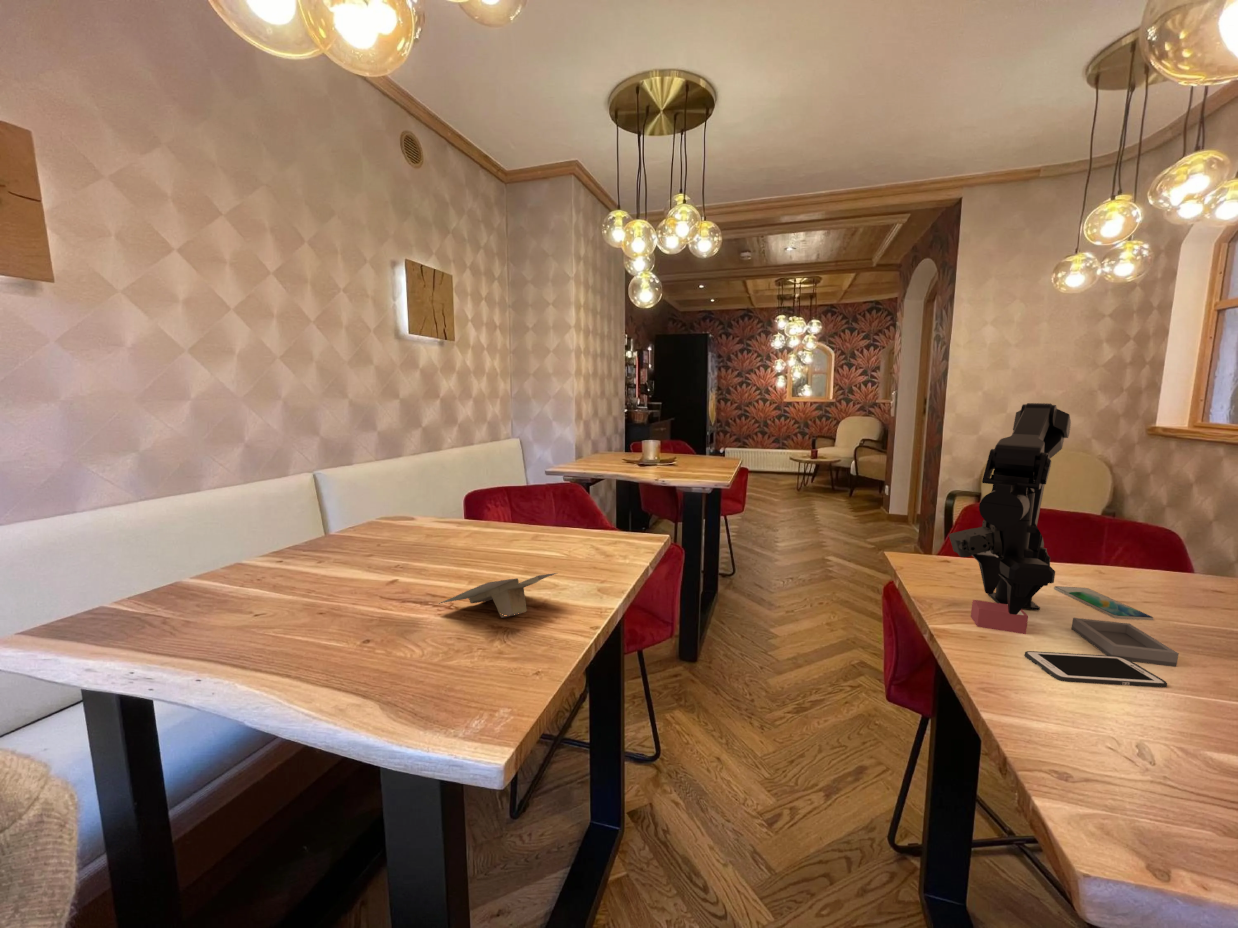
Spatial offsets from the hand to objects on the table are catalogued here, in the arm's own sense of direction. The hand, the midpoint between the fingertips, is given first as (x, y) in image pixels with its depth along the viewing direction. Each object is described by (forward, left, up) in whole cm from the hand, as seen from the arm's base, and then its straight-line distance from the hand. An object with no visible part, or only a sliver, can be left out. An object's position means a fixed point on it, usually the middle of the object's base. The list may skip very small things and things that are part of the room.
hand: (1000, 603), depth 91 cm
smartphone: (-17, +24, -5) cm, 30 cm away
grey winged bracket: (+20, -87, -4) cm, 89 cm away
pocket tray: (+4, +16, -4) cm, 17 cm away
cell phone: (+14, +7, -5) cm, 16 cm away
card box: (0, 0, -4) cm, 4 cm away
